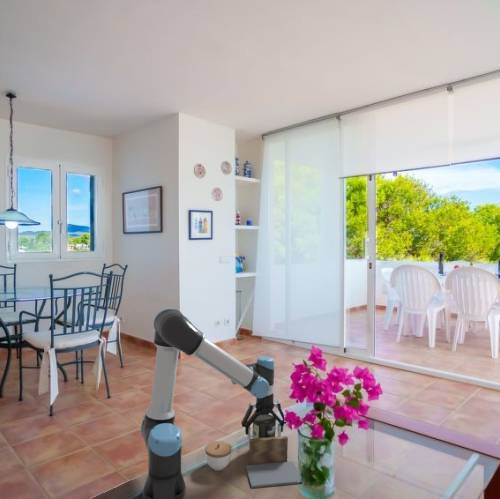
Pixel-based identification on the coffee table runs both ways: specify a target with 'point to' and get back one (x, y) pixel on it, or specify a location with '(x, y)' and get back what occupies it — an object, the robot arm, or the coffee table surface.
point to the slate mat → (272, 474)
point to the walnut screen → (268, 450)
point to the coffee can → (264, 426)
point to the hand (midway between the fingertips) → (264, 440)
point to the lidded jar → (218, 454)
